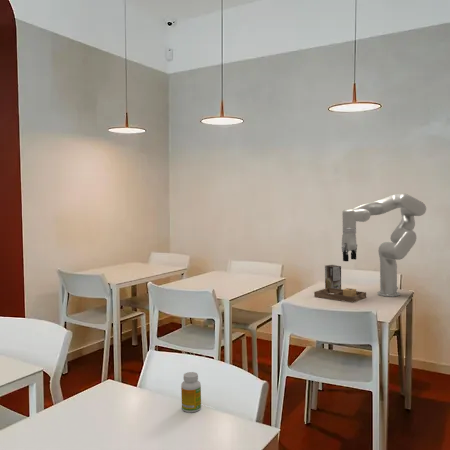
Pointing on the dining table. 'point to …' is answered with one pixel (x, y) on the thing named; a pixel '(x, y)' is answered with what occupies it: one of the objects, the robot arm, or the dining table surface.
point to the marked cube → (349, 292)
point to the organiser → (339, 295)
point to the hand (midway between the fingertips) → (349, 260)
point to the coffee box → (333, 276)
